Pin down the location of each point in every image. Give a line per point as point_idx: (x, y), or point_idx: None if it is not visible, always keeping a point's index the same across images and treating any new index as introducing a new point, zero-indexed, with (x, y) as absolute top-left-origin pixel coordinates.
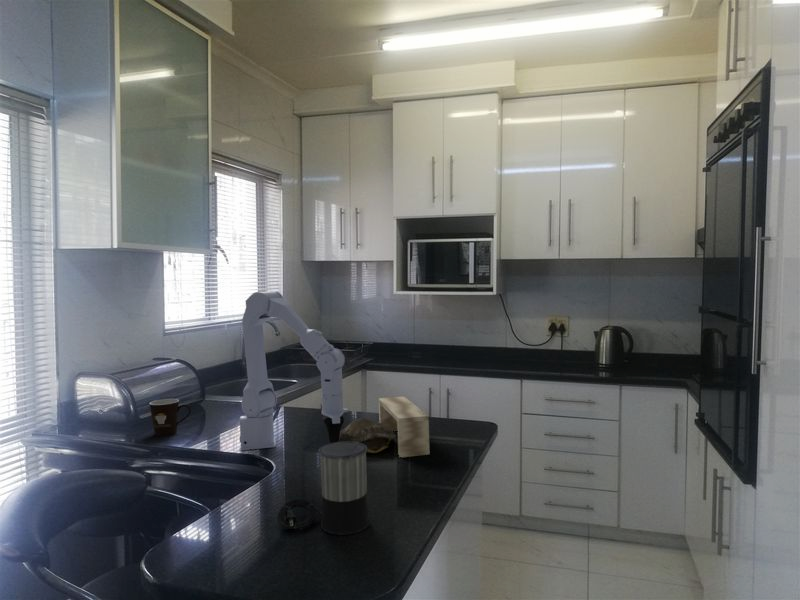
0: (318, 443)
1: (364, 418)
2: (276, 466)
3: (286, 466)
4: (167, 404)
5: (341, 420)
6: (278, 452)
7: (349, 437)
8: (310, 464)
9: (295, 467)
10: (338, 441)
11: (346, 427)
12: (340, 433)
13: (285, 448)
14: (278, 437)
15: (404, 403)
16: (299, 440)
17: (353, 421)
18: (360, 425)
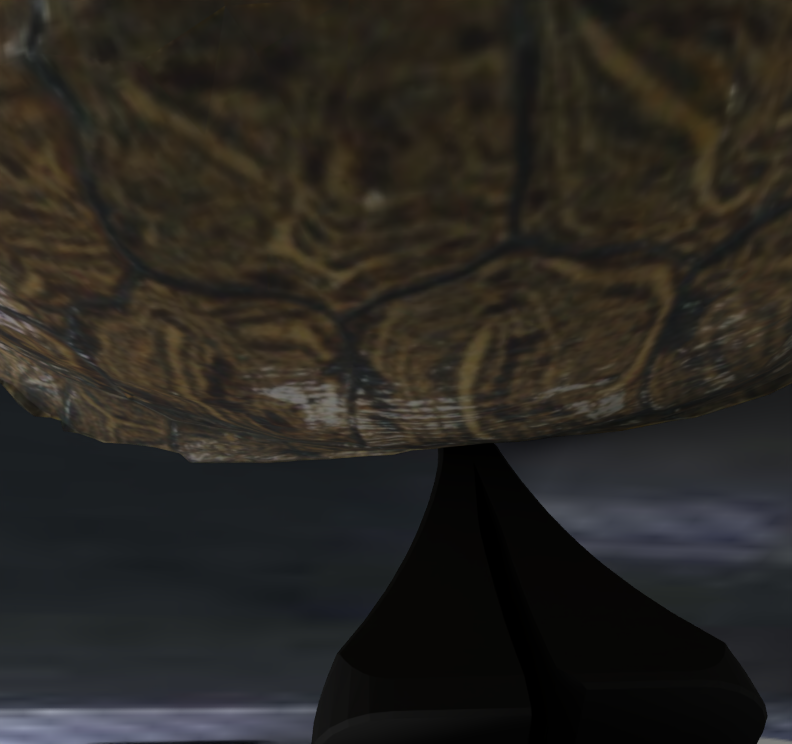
0: (193, 531)
1: (259, 19)
2: None
3: None
4: None
5: (764, 720)
6: None
7: (731, 389)
8: (739, 595)
9: (741, 663)
10: (498, 451)
11: (261, 409)
12: (285, 439)
13: (288, 703)
14: (3, 732)
15: None
16: (87, 639)
17: (99, 310)
18: (713, 225)
